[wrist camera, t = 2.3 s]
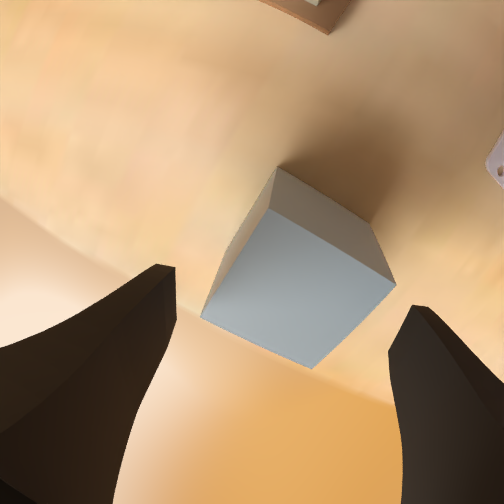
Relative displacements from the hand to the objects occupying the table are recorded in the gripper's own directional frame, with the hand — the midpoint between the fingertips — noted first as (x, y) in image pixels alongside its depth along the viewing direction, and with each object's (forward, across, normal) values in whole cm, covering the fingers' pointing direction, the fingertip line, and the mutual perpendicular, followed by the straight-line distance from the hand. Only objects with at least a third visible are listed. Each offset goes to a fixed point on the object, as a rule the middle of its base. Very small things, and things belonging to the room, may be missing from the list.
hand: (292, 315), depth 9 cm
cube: (+5, 0, 0) cm, 5 cm away
